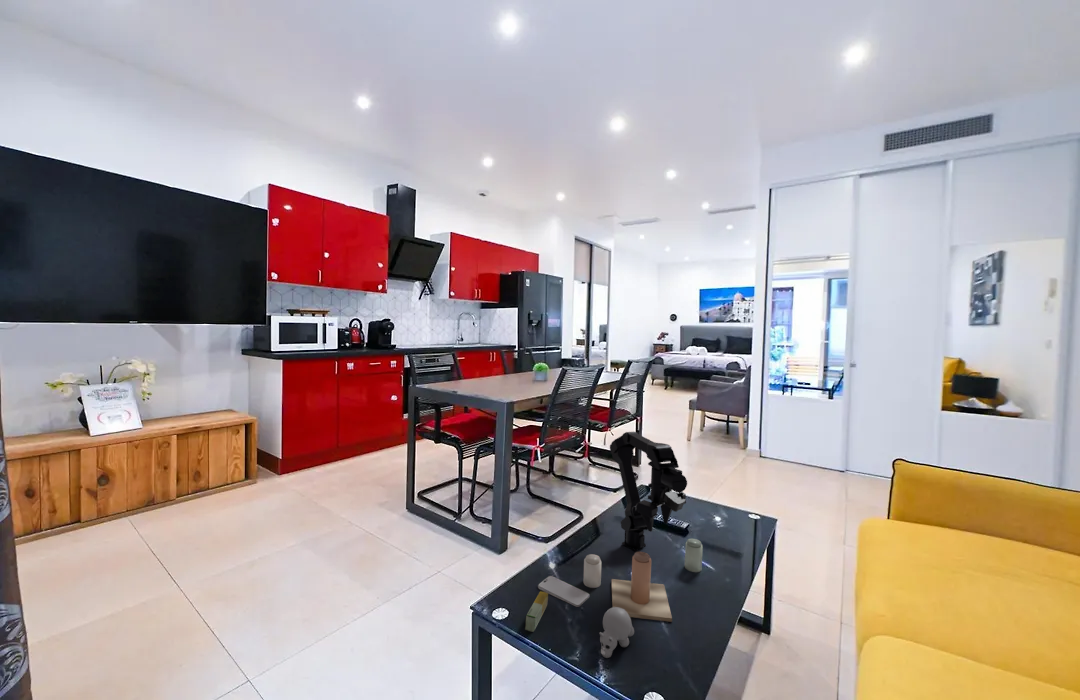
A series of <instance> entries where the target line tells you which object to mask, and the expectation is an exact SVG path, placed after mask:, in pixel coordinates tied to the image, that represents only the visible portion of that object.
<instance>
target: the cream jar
mask: <svg viewBox="0 0 1080 700" xmlns="http://www.w3.org/2000/svg"><path fill="white" fill-rule="evenodd" d="M601 581H602V559H601V557H600V556H599V555H597V554H593V553H589V554H587V555H586V556H585V558H584V559H583V581H582V582H583V585H584V586H586V587H587V588H589V589H595V588H599V587H600V586H601V584H602V582H601Z"/></svg>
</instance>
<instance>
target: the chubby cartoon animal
mask: <svg viewBox="0 0 1080 700" xmlns="http://www.w3.org/2000/svg"><path fill="white" fill-rule="evenodd" d="M632 623H633V622H632V618H631V617H630V616H629V615H628V613H627V612H626V610H625V609H622V608H619V607H613V608H612V607H610V608H608V609H607V611H605V612H604V615H603V618H602V627H603V630H604V631H603V632H601V631H600V632H598V633H599V636H600V637H599V641H600V645H601V647H600V654H601V656H602V657H604V658H605V659H608V658H611V657H612V655H613V652H614V650H615V649H616V647H617V646H618V645H619V646H620V647H622V648H627V647H628V646H629V644H630V640H629V638H630V637H632V636H634V634H635V627H633V624H632ZM618 643H619V644H618Z"/></svg>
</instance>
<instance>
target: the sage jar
mask: <svg viewBox="0 0 1080 700" xmlns="http://www.w3.org/2000/svg"><path fill="white" fill-rule="evenodd" d="M703 546H704V545H703V544H702V542H701V541H700V540H699V539H697V538H688V539H687V540H686V542H685V549H684V552H685V553H684V568H685V569H686V570H687V571H689V572H691V573H700V572H702V566H703V565H702V564H703V549H704V548H703Z"/></svg>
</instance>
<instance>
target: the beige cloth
mask: <svg viewBox="0 0 1080 700" xmlns="http://www.w3.org/2000/svg"><path fill="white" fill-rule="evenodd" d="M611 600H612V601H611V603H612V607H611V608H613V607H619V608H622V609H625V610H626V612H627V613H628V615H629V616H630V618H636V619H645V620H652V621H653V620H654V621H660V622H661V621H662V622H670V623H672V622H673V616H672V612H671V608H670V604H669V600H668V595H667V590H666V587H665V584H662V583H654V582H653V583H652V582H650V601H649V603H647V604H637V603H635V602H633V601H632V600H631V580H624V579H616V578H615V579H614V578H611Z"/></svg>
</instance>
